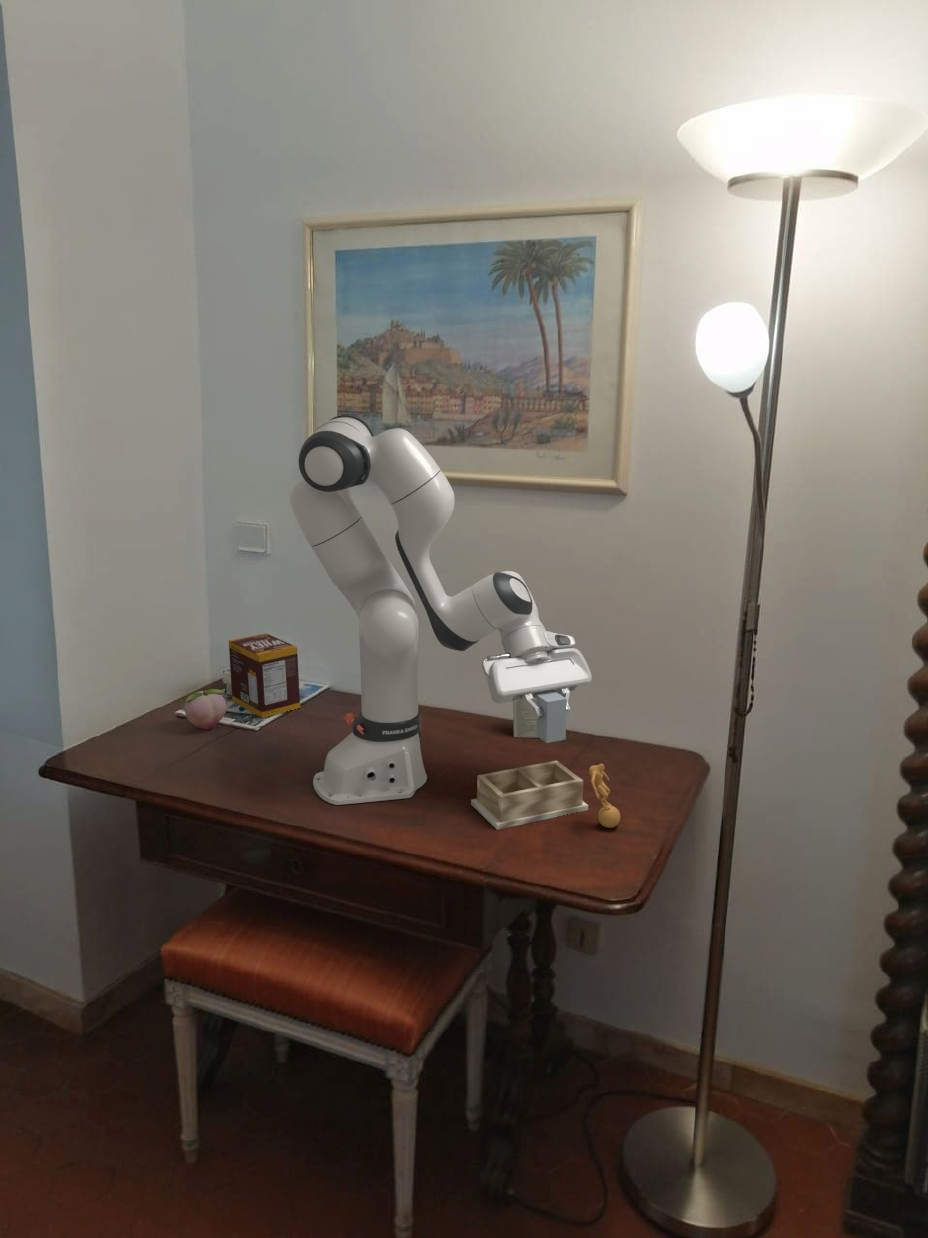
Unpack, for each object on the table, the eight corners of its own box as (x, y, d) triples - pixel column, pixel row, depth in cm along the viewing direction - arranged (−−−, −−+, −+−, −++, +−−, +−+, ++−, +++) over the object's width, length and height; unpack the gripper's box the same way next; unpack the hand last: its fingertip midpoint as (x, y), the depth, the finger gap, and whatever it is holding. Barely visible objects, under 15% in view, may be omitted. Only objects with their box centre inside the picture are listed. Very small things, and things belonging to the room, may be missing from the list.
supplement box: (268, 691, 244) (265, 632, 240) (301, 708, 232) (298, 646, 228) (231, 701, 237) (227, 639, 233) (262, 719, 226) (258, 654, 222)
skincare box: (541, 731, 219) (543, 679, 216) (541, 738, 215) (542, 686, 212) (513, 730, 220) (514, 678, 217) (512, 737, 216) (513, 685, 213)
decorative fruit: (214, 719, 226) (211, 678, 223) (233, 728, 220) (231, 686, 218) (177, 729, 219) (174, 687, 217) (197, 739, 214) (193, 696, 211)
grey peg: (546, 743, 178) (547, 702, 176) (536, 735, 182) (536, 695, 180) (565, 739, 180) (566, 698, 178) (554, 731, 183) (555, 692, 181)
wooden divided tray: (496, 830, 174) (497, 799, 173) (471, 804, 184) (471, 775, 182) (588, 810, 182) (589, 780, 180) (558, 786, 192) (559, 758, 190)
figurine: (614, 839, 171) (617, 776, 168) (581, 833, 173) (583, 771, 170) (624, 818, 179) (627, 758, 176) (592, 813, 181) (594, 753, 178)
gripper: (484, 649, 178) (508, 716, 173) (580, 635, 187) (606, 699, 181) (474, 665, 184) (496, 731, 178) (568, 651, 192) (593, 714, 186)
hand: (552, 715), depth 179 cm, fingers closed on grey peg, 4 cm apart
